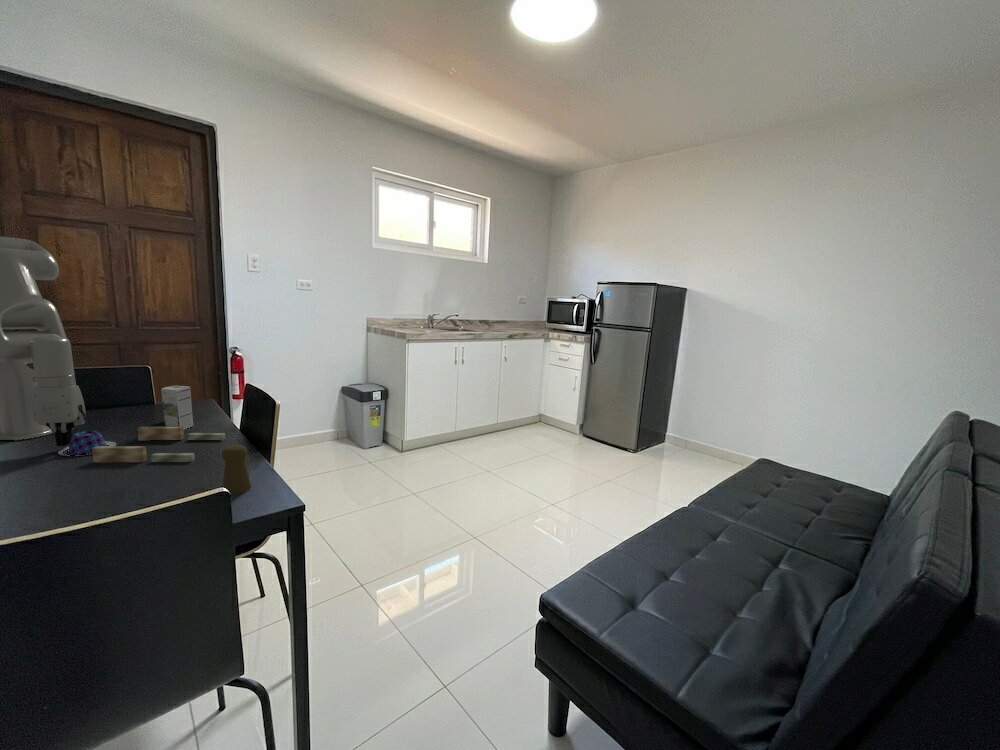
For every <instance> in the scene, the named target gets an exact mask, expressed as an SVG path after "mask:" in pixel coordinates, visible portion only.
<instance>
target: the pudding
mask: <svg viewBox="0 0 1000 750" xmlns="http://www.w3.org/2000/svg"><path fill="white" fill-rule="evenodd" d="M107 445H109V446H117V442H115V441H109V440H108V441H107V440H105V439H104V437H103V435H102V432H100V431H99V430H86V431H81V432H80V431H79V432H76V433H75V434H72V437H71V441H70V444H69V446H65V447H64V448H62V449H60V450H59V451H58V452H57V453H58V455H60V456H64V457H66V456H67V457H71V456H70V455H71V454H77V455H75V456H74V457H79V456H81V457H82V455H79V454H86V455H85V456H89V455H90V454H91V453H92V448H93V447H96V446H107ZM67 449H69V450H68V452H70V453H71V454H70V453H69V454H70V455H64V454H63V453H62V452H63V451H65V450H67ZM88 453H89V454H88Z"/></svg>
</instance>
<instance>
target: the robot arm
mask: <svg viewBox="0 0 1000 750" xmlns="http://www.w3.org/2000/svg"><path fill="white" fill-rule="evenodd" d="M59 273H60V268H59V264H58V262H57V260H56V259H55V258H54V256H53V255H52V254H51V253H50V252H49V251H48V250H47V249H45V248H44V247H43V246H42V245H40V244H39V243H37V242H35V241H33V240H30V239H25V238H19V237H8V236H0V440H14V441H22V440H23V439H24V440H29V439H30V438H31V439H35V437H36V438H40V436H41V437H43V436H47V435H50V434H53V433H54V437H55V443H56V446H57V447H67V445H70V441H71V437H72V436H73V432H72V430H74V429H75V427H78V426H81V425H84V424H86V420H85V419H84V418H86V406H85V401H84V398H83V395H82V391H81V388H80V387H79V385H77V383H76V374H75V368H74V367H75V366H74V361H73V353H72V344H71V340H69V338H67V335H66V332H65V328H64V326H63V323H62V320H61V317H60V315H59V312H58V309H57V308H56V306H55V305H54V304H53V302H51V301H50V300H47V299H46V298H43V297H42V294H41V292H40V290H39V287H38V284H37V282H36V281H38V280H39V281H54V280H56V279H57V278H58V277H59ZM29 329H31V330H32V329H33V331H24V330H29ZM4 330H23V331H4ZM35 330H36V331H35ZM28 364H33V365H32V366H33V369H32V368H30V367H29V366H28ZM31 439H30V440H31Z"/></svg>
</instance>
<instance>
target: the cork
mask: <svg viewBox="0 0 1000 750" xmlns="http://www.w3.org/2000/svg"><path fill="white" fill-rule="evenodd" d="M247 456H248V449H247V447H246V446H244V445H241V444H233V445H228V446H226V447H225V448H224V449H223V450H222V452H221V458H222V460H223V461H224V470H223V480H222V481H223V482H222V488H223V487H224V488H226V489H228V490H229V491H230V493H232V494H236V495H241V494H243V492H244V493H247V492H248V491H250V490H251V489H250V488H252V483H251V481H250V480H251V479H250V476H249V471H248V466H247V461H246V458H247ZM249 489H250V490H249ZM247 490H248V491H247ZM246 491H247V492H246ZM232 494H231V495H230V496H233V495H232Z"/></svg>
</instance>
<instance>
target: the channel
mask: <svg viewBox="0 0 1000 750" xmlns="http://www.w3.org/2000/svg"><path fill="white" fill-rule="evenodd" d="M136 429H137V438H138V441H150V440H182V439H183V440H185V432H184V431H185V430H183V427H165V426H139V427H137V428H136ZM224 439H225V440H226V433H225V432H223V433H222V432H218V433H217V432H215V433H214V432H210V433H209V432H190V433H188V434H187V440H223V441H225V440H224ZM183 440H182V441H183ZM91 455H92V460H93V463H145V462H147V461H148V454H147V446H145V445H143V446H140V445H138V446H137V445H135V446H134V445H133V446H131V445H130V446H129V445H128V446H127V445H126V446H125V445H122V446H121V445H120V446H117V445H116V446H96V447H93V448H92V454H91ZM150 458H151V463H193V462H194V461H196V458H195V452H168V453H167V452H155V453H153V454H151V455H150Z"/></svg>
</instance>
